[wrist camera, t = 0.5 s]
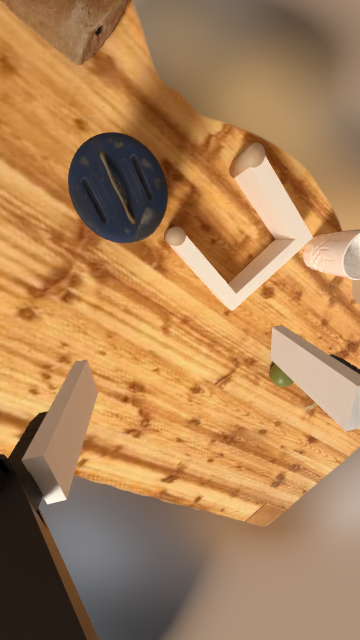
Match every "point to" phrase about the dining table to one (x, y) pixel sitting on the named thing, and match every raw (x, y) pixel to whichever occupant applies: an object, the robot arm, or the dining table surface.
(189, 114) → the dining table surface
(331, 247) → the white cup
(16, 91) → the dining table surface
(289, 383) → the pear
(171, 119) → the dining table surface
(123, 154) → the canister
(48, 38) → the stone cup
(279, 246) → the bracket
